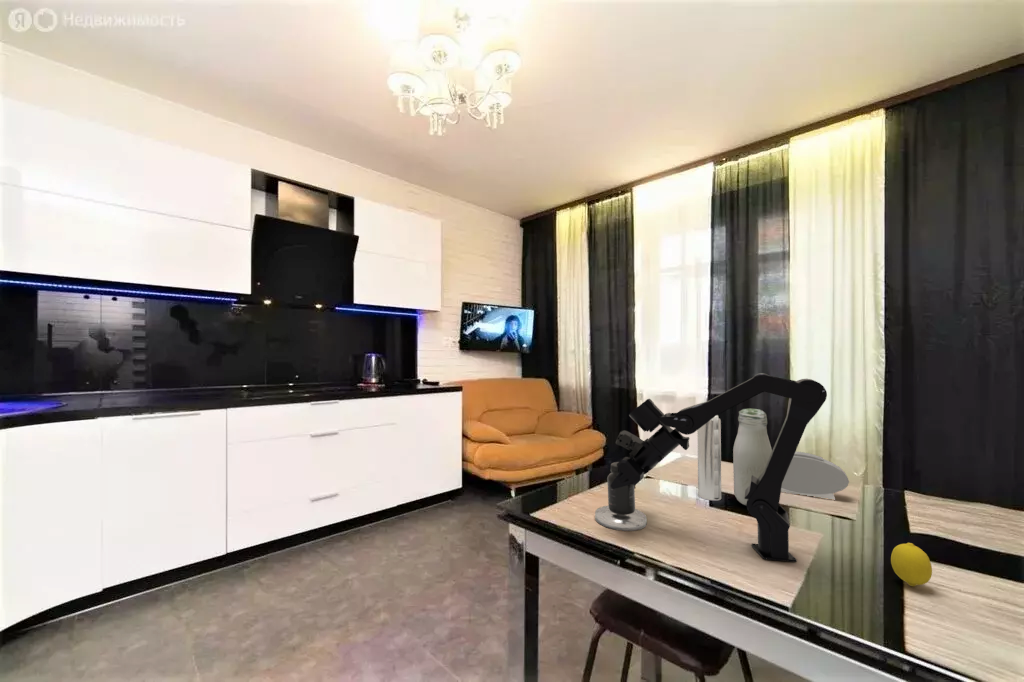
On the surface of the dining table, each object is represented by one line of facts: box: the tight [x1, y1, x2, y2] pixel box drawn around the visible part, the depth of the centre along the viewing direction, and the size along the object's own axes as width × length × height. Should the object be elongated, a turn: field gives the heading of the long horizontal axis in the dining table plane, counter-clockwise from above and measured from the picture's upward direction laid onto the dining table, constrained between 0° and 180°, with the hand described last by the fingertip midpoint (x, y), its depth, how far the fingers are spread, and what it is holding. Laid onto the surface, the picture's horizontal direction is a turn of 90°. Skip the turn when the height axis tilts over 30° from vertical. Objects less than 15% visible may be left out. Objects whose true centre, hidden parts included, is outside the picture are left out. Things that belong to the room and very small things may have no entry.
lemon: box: [890, 542, 933, 587], centre depth 77 cm, size 6×6×8 cm
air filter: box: [696, 415, 722, 501], centre depth 125 cm, size 6×6×25 cm
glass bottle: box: [732, 408, 773, 506], centre depth 117 cm, size 10×10×28 cm
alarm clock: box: [781, 451, 850, 501], centre depth 129 cm, size 23×6×13 cm, turn 57°
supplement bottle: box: [606, 461, 636, 515], centre depth 106 cm, size 7×7×12 cm
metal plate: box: [594, 505, 648, 532], centre depth 106 cm, size 13×13×2 cm
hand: (615, 483), depth 107 cm, fingers closed on supplement bottle, 7 cm apart
